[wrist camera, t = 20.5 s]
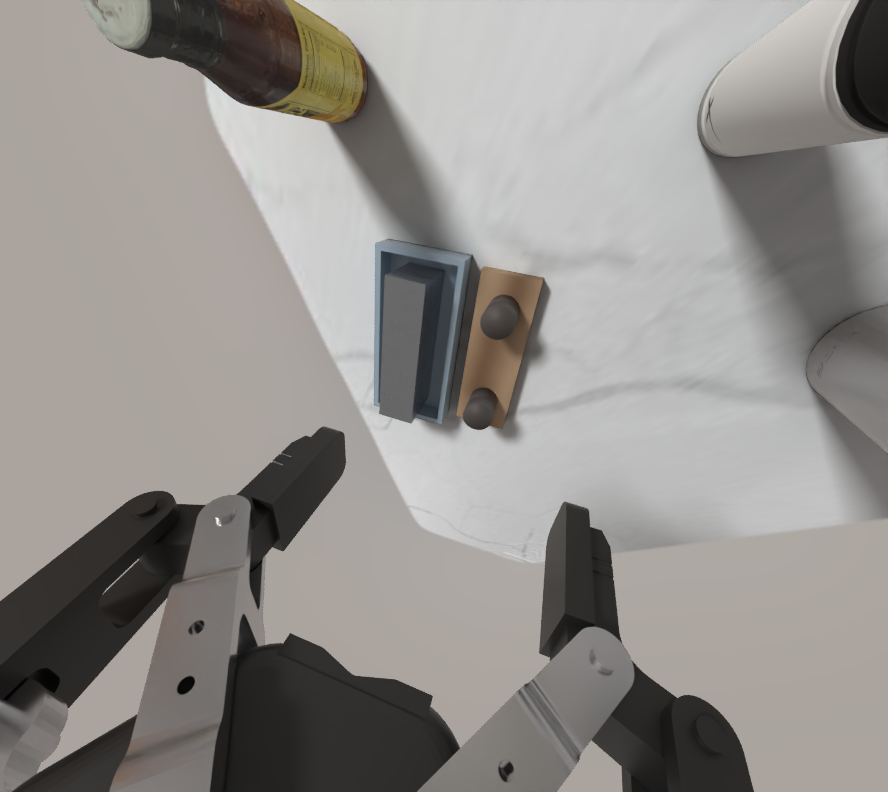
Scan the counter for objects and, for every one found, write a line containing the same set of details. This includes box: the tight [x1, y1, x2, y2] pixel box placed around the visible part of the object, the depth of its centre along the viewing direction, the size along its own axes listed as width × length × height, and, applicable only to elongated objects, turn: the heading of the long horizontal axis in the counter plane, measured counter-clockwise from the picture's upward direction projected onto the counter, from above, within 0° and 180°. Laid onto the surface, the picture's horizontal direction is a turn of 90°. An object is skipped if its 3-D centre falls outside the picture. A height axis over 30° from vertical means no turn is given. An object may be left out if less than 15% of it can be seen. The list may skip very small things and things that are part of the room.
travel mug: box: [697, 0, 888, 157], centre depth 17 cm, size 6×7×20 cm
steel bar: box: [379, 262, 445, 423], centre depth 39 cm, size 4×16×6 cm, turn 172°
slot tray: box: [374, 239, 472, 425], centre depth 40 cm, size 9×20×3 cm, turn 173°
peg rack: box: [456, 266, 544, 430], centre depth 38 cm, size 6×18×6 cm, turn 173°
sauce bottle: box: [81, 0, 367, 123], centre depth 23 cm, size 7×6×20 cm
